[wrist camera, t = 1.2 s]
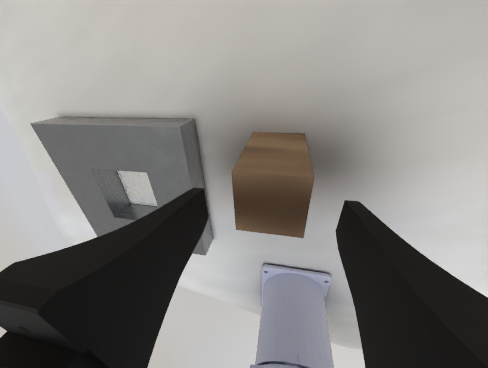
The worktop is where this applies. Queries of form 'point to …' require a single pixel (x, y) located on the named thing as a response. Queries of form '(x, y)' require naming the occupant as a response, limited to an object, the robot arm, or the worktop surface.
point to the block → (273, 184)
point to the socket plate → (124, 164)
